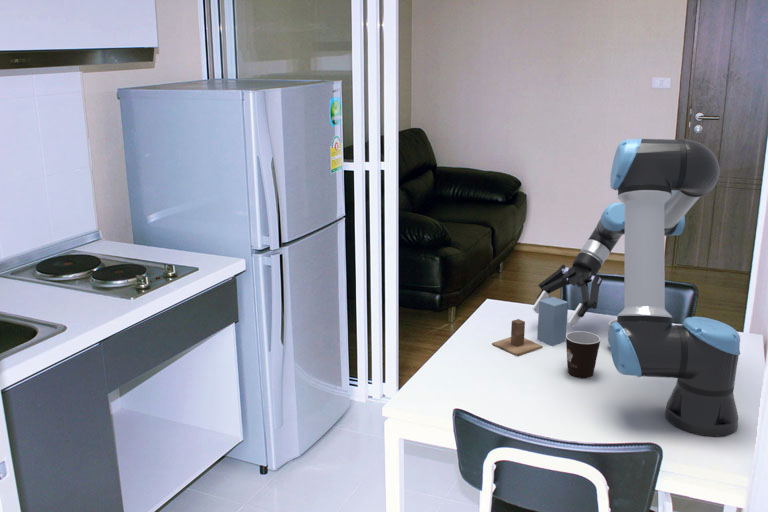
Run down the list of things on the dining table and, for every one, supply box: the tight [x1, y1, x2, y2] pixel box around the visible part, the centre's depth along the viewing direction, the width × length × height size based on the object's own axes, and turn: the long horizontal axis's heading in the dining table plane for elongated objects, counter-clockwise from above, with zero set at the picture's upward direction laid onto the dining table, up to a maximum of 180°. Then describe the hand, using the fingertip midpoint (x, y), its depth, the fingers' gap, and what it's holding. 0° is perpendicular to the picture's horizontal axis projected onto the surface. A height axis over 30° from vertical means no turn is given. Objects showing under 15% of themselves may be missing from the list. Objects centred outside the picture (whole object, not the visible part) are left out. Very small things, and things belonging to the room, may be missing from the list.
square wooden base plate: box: [491, 318, 544, 357], centre depth 203 cm, size 10×10×8 cm
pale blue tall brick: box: [536, 296, 569, 347], centre depth 206 cm, size 6×6×12 cm
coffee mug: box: [565, 330, 601, 380], centre depth 187 cm, size 12×9×10 cm
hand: (552, 317), depth 207 cm, fingers open, 13 cm apart
